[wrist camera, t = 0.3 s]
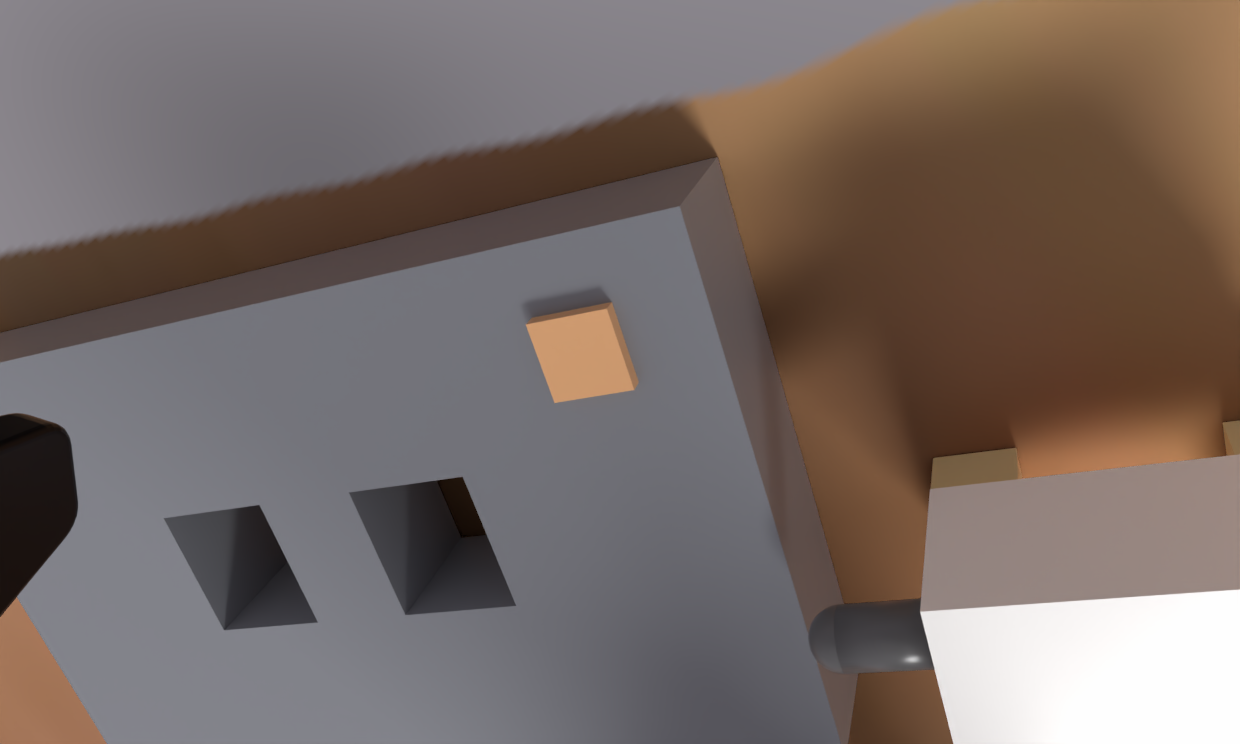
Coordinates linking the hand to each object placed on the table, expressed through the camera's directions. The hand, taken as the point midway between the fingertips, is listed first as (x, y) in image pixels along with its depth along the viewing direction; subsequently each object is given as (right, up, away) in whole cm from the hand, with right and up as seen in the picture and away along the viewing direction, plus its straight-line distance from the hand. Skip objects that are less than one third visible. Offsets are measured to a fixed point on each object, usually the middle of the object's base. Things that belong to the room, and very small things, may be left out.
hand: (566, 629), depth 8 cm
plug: (+9, 0, +13) cm, 16 cm away
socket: (-5, -1, +18) cm, 19 cm away
